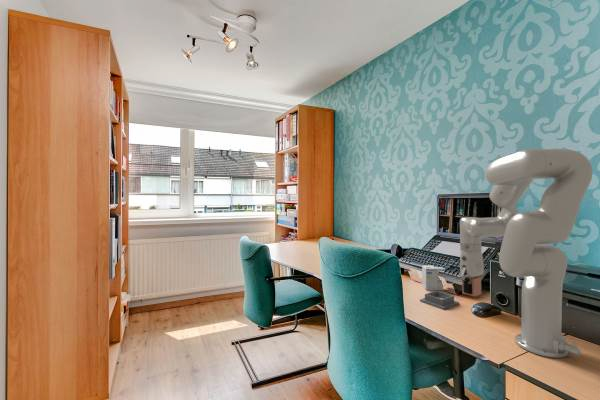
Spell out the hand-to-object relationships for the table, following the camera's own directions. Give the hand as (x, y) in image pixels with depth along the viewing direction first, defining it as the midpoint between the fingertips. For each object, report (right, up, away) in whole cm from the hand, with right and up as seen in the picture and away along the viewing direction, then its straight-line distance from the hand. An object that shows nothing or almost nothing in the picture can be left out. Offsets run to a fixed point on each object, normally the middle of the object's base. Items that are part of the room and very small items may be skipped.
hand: (471, 291), depth 121 cm
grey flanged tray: (-11, -7, +6) cm, 14 cm away
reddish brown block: (0, -1, 0) cm, 1 cm away
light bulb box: (-4, -6, +24) cm, 25 cm away
